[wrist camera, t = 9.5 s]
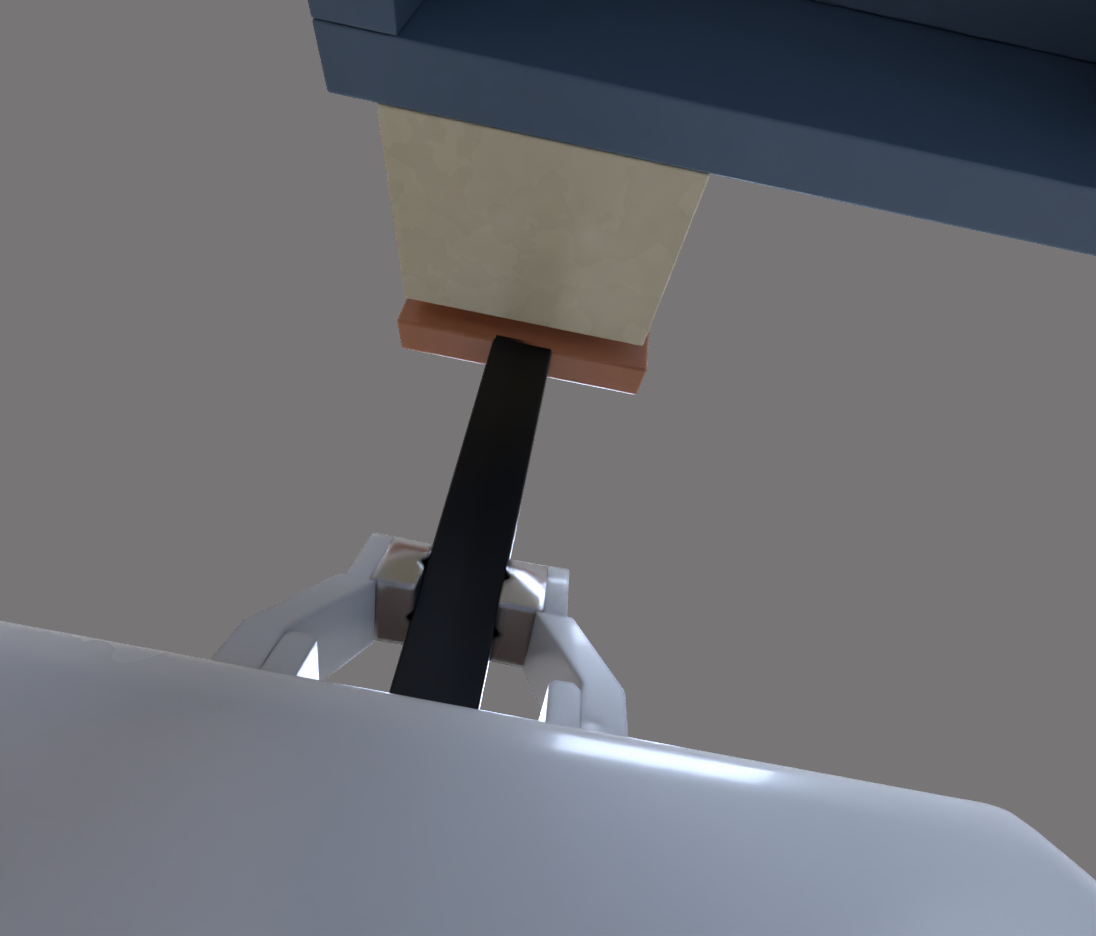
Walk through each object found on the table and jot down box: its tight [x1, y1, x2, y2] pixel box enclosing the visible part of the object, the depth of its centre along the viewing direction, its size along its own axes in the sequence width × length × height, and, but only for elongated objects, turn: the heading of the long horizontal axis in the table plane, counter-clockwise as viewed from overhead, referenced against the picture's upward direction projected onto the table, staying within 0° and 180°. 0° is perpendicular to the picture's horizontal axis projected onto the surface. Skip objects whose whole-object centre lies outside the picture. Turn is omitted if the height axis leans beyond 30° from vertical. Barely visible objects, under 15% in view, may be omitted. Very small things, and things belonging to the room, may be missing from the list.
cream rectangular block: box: [377, 103, 710, 346], centre depth 14 cm, size 7×7×5 cm
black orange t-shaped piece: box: [389, 298, 649, 709], centre depth 15 cm, size 18×8×2 cm, turn 9°
